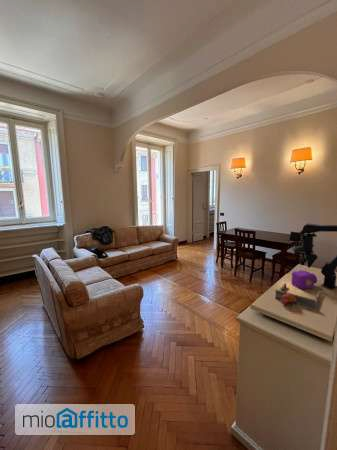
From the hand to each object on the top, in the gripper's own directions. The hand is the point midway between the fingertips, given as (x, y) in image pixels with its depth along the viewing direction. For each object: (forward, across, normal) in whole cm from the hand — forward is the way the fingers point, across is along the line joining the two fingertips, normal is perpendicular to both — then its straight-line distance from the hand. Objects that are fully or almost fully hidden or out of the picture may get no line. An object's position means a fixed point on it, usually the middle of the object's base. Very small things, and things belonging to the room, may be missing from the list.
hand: (306, 265), depth 137 cm
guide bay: (+12, +23, -10) cm, 28 cm away
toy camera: (+12, +6, -3) cm, 14 cm away
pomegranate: (+12, +35, -17) cm, 41 cm away
